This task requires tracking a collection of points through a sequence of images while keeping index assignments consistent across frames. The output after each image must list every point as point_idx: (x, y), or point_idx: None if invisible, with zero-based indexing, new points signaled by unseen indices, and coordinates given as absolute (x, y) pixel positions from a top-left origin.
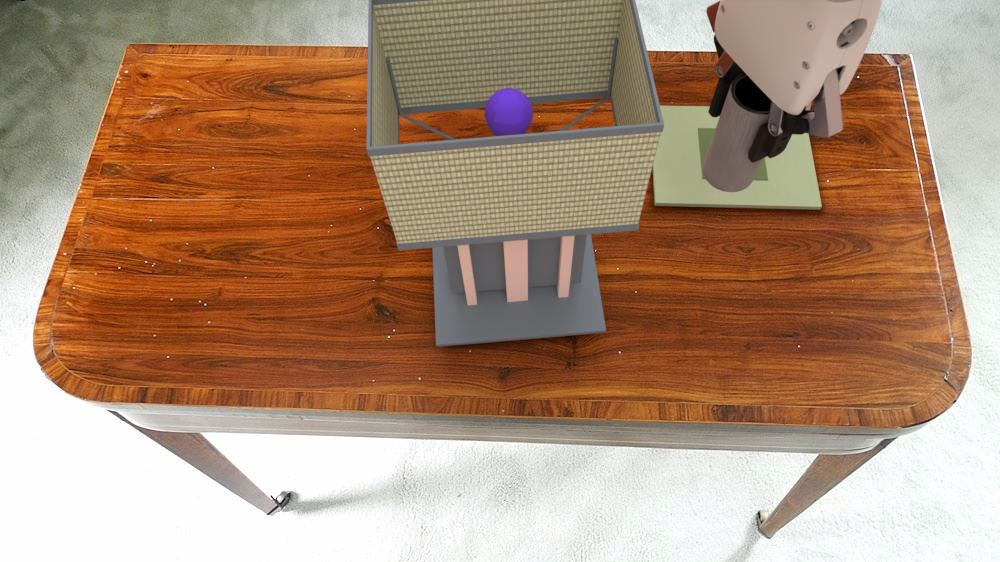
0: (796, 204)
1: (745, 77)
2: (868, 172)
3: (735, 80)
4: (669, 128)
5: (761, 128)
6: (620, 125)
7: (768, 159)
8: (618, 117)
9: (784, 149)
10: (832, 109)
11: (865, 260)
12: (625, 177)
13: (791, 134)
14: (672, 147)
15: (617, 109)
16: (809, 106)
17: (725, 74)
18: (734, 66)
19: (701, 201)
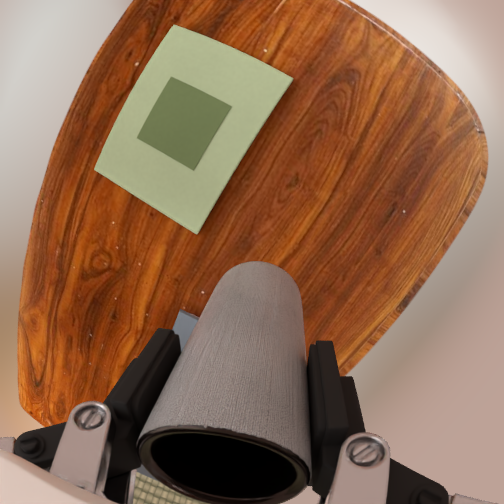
0: (276, 99)
1: (154, 458)
2: (278, 13)
3: (160, 480)
4: (124, 166)
5: (311, 484)
6: (166, 499)
7: (208, 89)
8: (151, 491)
9: (352, 378)
10: None
11: (367, 86)
12: None
13: (362, 422)
14: (144, 176)
15: (139, 489)
16: (385, 498)
17: (135, 478)
18: (118, 465)
19: (218, 189)
